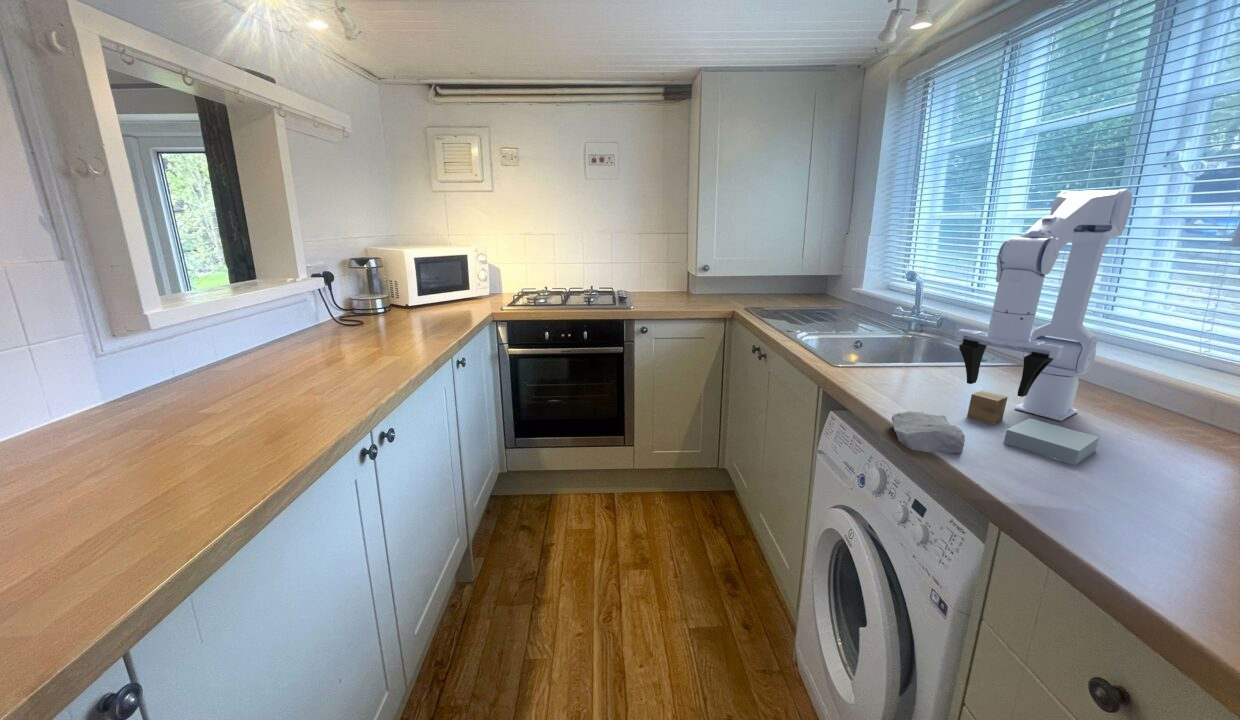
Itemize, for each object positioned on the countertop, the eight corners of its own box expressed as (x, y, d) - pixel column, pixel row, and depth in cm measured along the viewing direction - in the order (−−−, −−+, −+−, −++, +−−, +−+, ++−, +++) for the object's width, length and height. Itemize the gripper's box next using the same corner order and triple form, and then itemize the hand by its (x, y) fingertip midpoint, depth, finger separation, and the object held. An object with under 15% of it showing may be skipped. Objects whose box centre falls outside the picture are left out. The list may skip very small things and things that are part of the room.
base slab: (1025, 432, 95) (1029, 418, 94) (1094, 453, 87) (1099, 437, 86) (1003, 444, 89) (1006, 429, 89) (1074, 467, 81) (1079, 450, 81)
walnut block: (976, 413, 103) (981, 390, 102) (1002, 420, 100) (1007, 396, 98) (966, 417, 101) (971, 394, 99) (992, 424, 97) (997, 400, 96)
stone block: (904, 460, 86) (970, 456, 84) (903, 434, 85) (969, 429, 83) (884, 435, 98) (941, 430, 95) (882, 411, 97) (940, 406, 94)
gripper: (954, 307, 87) (940, 381, 90) (1059, 321, 75) (1037, 406, 79) (973, 303, 90) (958, 375, 94) (1076, 317, 79) (1054, 398, 82)
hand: (995, 388), depth 87 cm, fingers open, 7 cm apart
